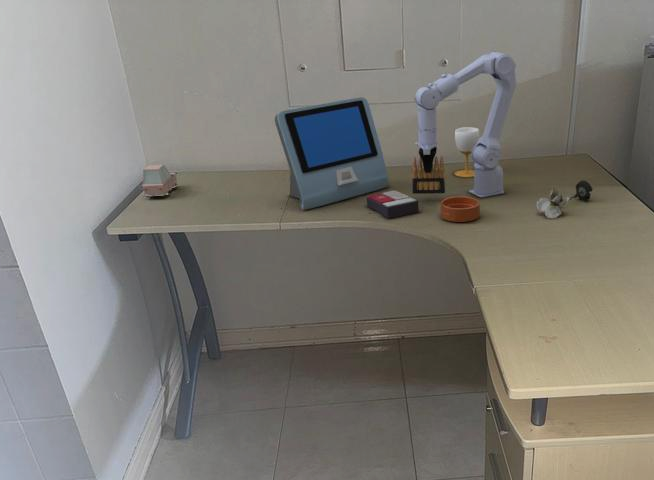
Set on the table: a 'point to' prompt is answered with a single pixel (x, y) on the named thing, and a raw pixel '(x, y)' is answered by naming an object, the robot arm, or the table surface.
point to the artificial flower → (553, 206)
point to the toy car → (158, 180)
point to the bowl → (460, 209)
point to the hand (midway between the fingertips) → (428, 171)
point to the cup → (466, 146)
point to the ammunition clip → (428, 178)
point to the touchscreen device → (331, 152)
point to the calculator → (392, 204)
